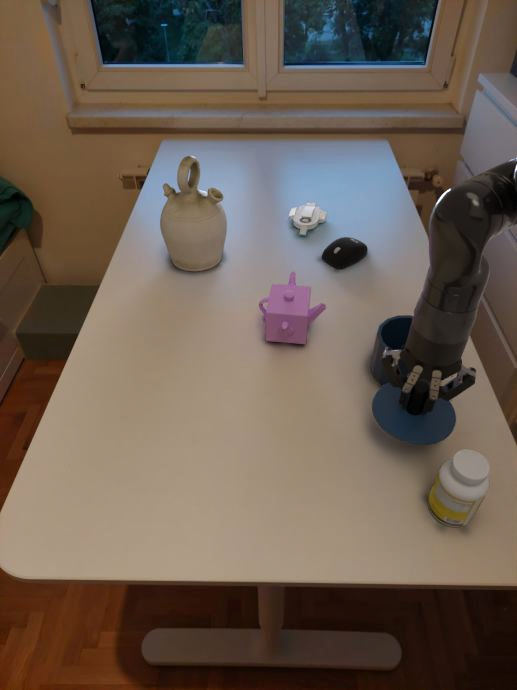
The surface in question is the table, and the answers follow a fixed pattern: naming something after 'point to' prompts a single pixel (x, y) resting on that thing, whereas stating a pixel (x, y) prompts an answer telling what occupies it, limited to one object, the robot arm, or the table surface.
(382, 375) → the pot
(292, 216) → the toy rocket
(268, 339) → the teapot
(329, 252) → the computer mouse
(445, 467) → the pill bottle
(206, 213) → the jug
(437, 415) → the lid
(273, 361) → the table surface
